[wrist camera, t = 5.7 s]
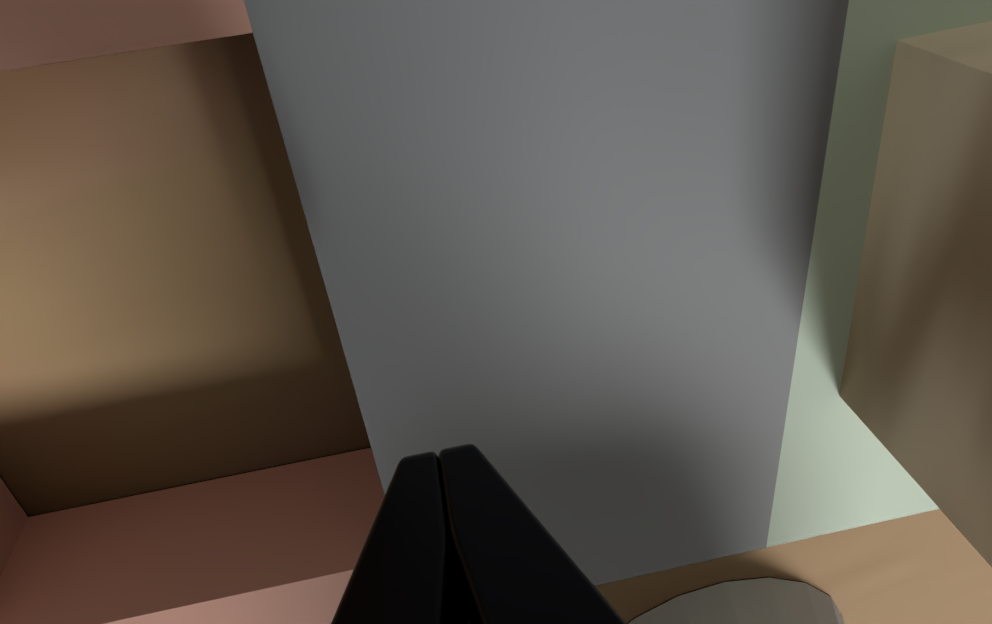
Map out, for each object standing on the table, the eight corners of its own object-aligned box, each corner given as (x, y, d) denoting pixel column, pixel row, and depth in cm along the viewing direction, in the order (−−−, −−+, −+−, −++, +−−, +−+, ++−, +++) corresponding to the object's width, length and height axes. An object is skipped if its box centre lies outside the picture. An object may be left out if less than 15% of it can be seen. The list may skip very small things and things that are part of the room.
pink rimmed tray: (1379, 302, 19) (1538, 374, 16) (-1, 592, 16) (-65, 733, 13) (1851, -392, 11) (2278, -458, 9) (-544, -82, 9) (-910, -50, 6)
